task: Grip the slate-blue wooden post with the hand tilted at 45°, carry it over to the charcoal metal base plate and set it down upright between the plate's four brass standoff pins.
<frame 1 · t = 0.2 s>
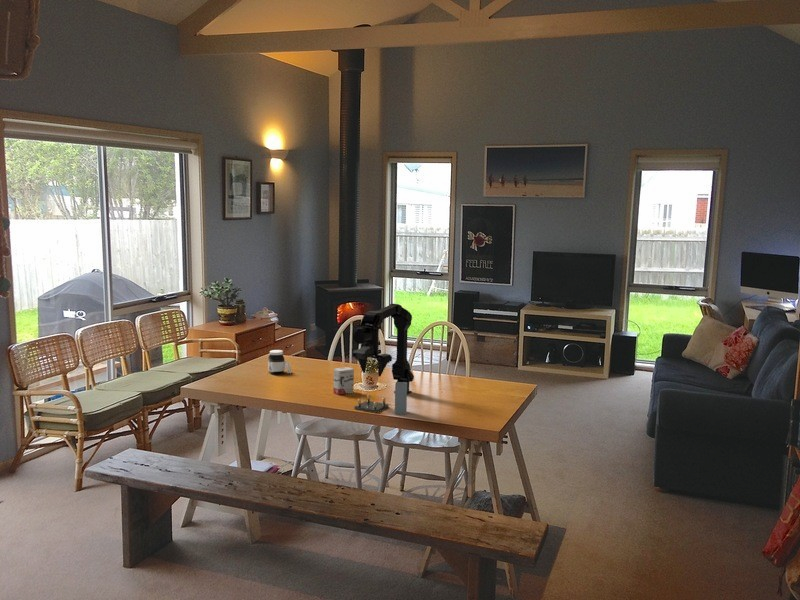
hand: (371, 374, 310), 14 cm above the table, tool pointing down, fingers open, 9 cm apart
base plate: (371, 408, 308), on the table
spread jar: (280, 373, 367), on the table
post: (400, 412, 302), on the table
ink box: (343, 393, 331), on the table
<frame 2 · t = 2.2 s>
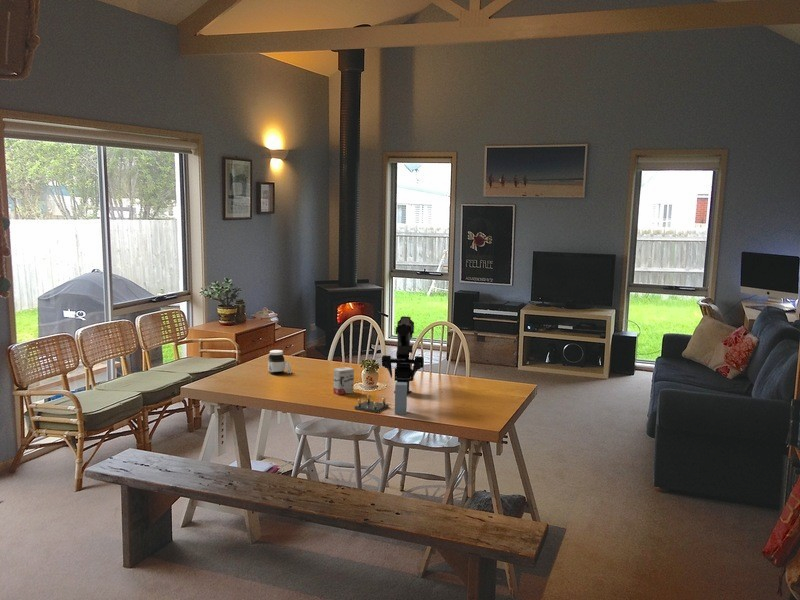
hand: (401, 377, 308), 13 cm above the table, tool tilted 45°, fingers open, 9 cm apart
nothing on the table moved.
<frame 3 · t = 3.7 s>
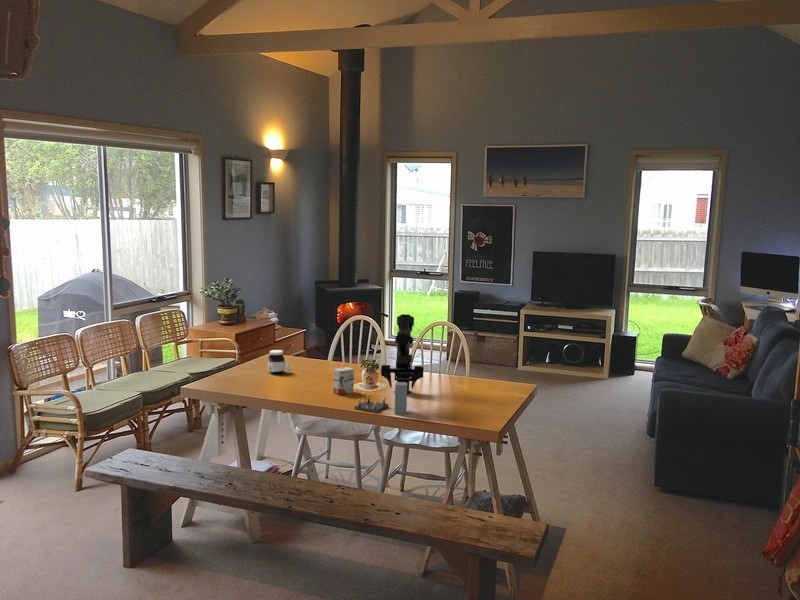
hand: (401, 387, 304), 10 cm above the table, tool tilted 45°, fingers open, 9 cm apart
nothing on the table moved.
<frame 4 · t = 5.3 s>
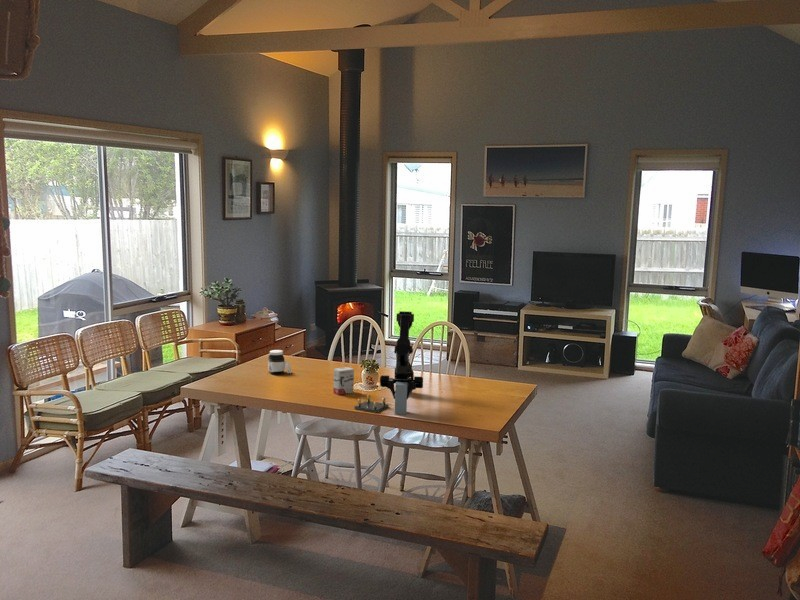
hand: (400, 398, 299), 7 cm above the table, tool tilted 45°, fingers closed on post, 5 cm apart
post: (400, 412, 302), on the table, touching gripper
everything else where it was.
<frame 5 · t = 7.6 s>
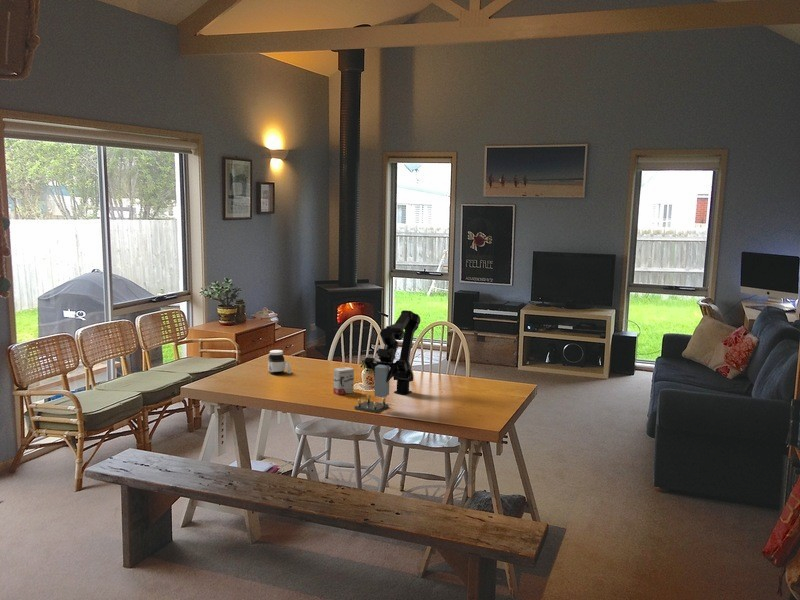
hand: (380, 381, 302), 13 cm above the table, tool tilted 45°, fingers closed on post, 5 cm apart
post: (381, 395, 304), point 7 cm above the table, touching gripper
everything else where it was.
when the fingers open (9 cm above the table, at t = 9.9 s): post drops 1 cm, resting on base plate.
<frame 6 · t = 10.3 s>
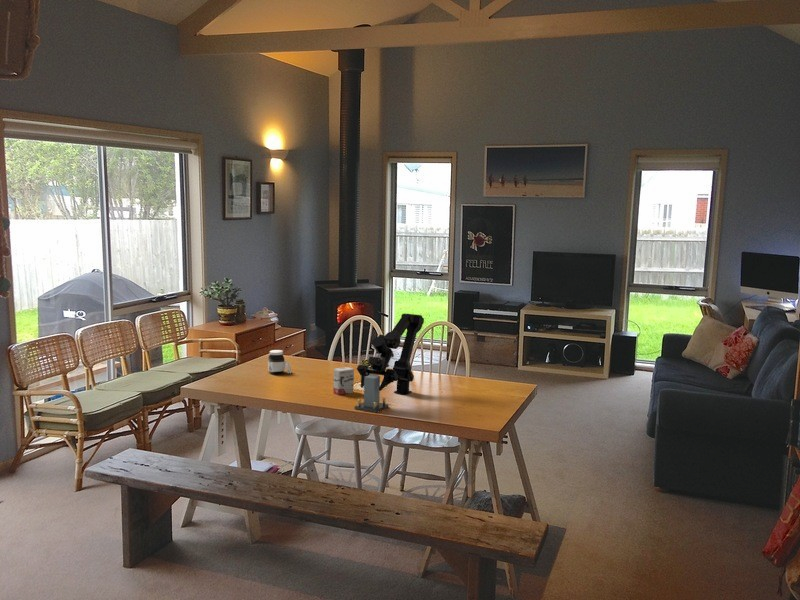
hand: (370, 388, 305), 9 cm above the table, tool tilted 45°, fingers open, 9 cm apart
post: (371, 405, 308), point 1 cm above the table, touching base plate
everything else where it was.
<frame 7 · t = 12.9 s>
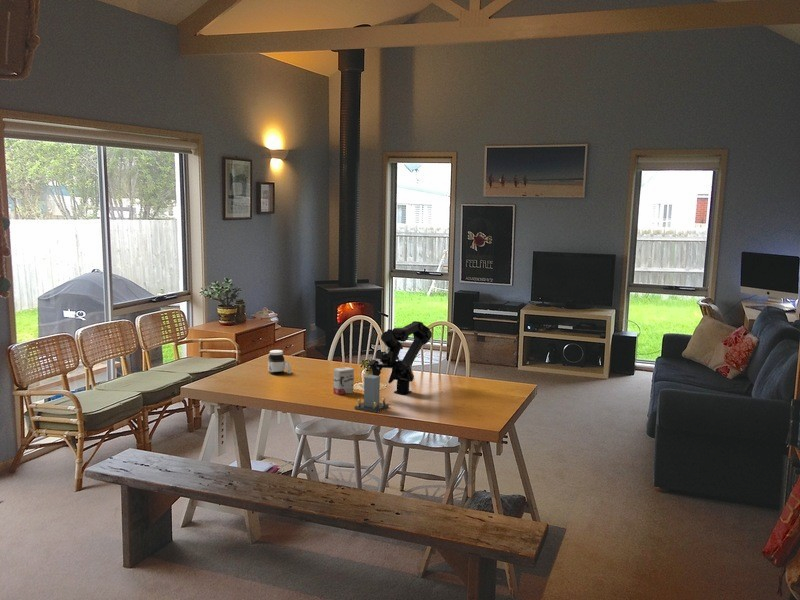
hand: (381, 382, 314), 10 cm above the table, tool tilted 40°, fingers open, 9 cm apart
nothing on the table moved.
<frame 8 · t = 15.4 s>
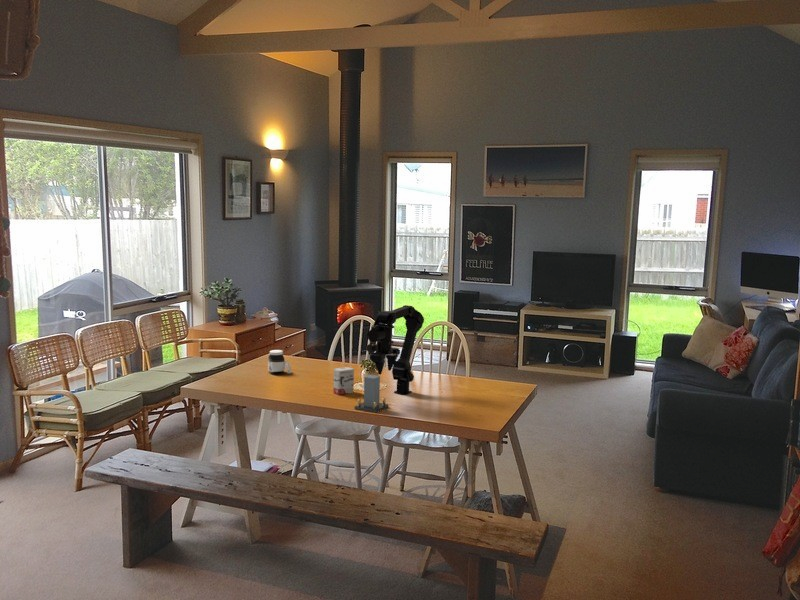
hand: (384, 372, 319), 13 cm above the table, tool pointing down, fingers open, 9 cm apart
nothing on the table moved.
at the end: post 0.0 cm off-centre on the base plate, point 1.2 cm above the base plate's base; post tilted 0°; the gripper is holding nothing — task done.
